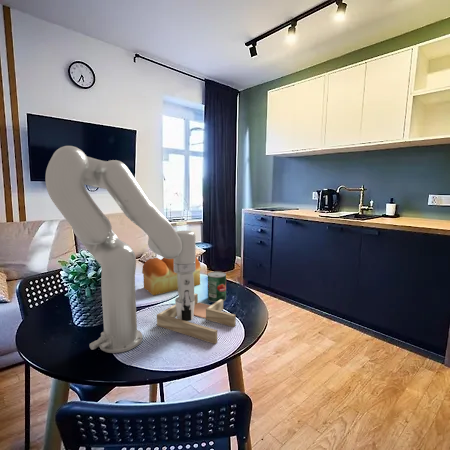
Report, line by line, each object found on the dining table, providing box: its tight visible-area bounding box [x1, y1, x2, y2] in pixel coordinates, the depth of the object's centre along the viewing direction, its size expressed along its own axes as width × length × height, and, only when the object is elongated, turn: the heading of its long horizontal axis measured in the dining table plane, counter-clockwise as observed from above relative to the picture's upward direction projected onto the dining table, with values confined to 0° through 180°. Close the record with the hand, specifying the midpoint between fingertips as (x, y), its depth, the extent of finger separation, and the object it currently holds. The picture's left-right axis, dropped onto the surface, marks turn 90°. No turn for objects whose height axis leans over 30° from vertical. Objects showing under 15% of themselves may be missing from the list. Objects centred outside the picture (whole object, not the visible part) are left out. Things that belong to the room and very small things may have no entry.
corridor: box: [156, 292, 237, 345], centre depth 102 cm, size 23×24×4 cm
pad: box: [193, 302, 212, 320], centre depth 110 cm, size 10×10×1 cm
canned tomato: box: [207, 271, 227, 303], centre depth 121 cm, size 8×8×11 cm
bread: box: [141, 257, 202, 296], centre depth 136 cm, size 25×12×15 cm, turn 126°
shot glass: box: [174, 296, 195, 322], centre depth 99 cm, size 7×7×7 cm
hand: (185, 316), depth 100 cm, fingers closed on shot glass, 5 cm apart
